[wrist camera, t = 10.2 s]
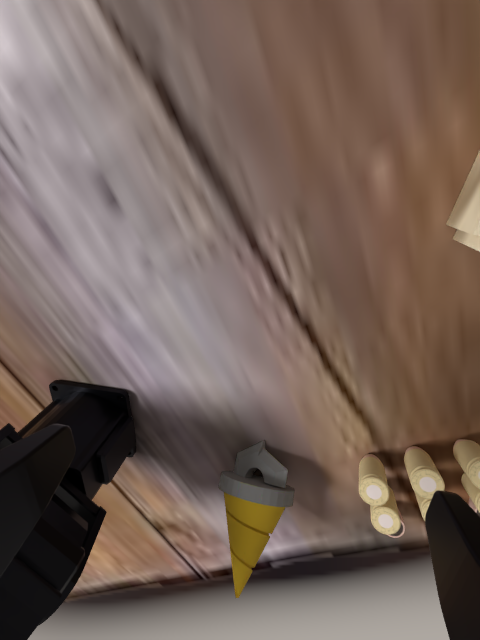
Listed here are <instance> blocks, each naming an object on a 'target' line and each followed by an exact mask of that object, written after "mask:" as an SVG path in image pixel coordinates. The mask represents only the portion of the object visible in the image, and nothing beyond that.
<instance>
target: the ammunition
mask: <svg viewBox="0 0 480 640" xmlns="http://www.w3.org/2000/svg"><path fill="white" fill-rule="evenodd" d="M453 454H454V457H455V458H456V460H457V461H458V463H459V464H460V466H461V467H462V469H463V470H464V472H465V473H464V474H463V475H462V478H461V482H462V485H463V487H464V488H465V490H466V492H467V493H468V495H469V496H470V498H469V506H470V507H471V508H472V509H473V510H474V511H475V512H476V513H477V514H478V515H479V516H480V445H479V444H477V443H476V442H474V441H471V440H466V439H459V440H457V441H456V442H455V444H454V447H453ZM404 463H405V466H406V469H407V473H408V476H409V479H410V482H411V485H412V488H413V490H414V492H415V495H416V498H417V501H418V504H419V507H420V511H421V513H422V517H423V519H424V520H425V516H426V512H427V510H428V507H429V504H430V502H431V499H432V497H433V494H434V493H435V492H436V491H437V490H440V491H444V489H445V484H444V481H443V479H442V477H441V475H440V473H439V472H438V470H437V468H436V466H435V464H434V463H433V461H432V459H431V457H430V456H429V454H428V453H426V452H425V451H424V450H423V449H421V448H419V447H416V446H411V447H409V448H408V449H407V450H406V452H405V456H404ZM359 494H360V496H361V498H362V499H363V500H364V501H365V502H366V503H368V504H369V505H370V511H371V522H372V524H373V526H374V528H375V529H376V530H377V531H379V532H380V533H383V534H386V535H388V536H390V537H393V538H398V537H401V536H402V535H403V534H404V531H405V527H404V522H403V518H402V515H401V513H400V511H399V510H398V508H397V504H396V500H395V496H394V492H393V490H392V489H391V488H390V487H389V486H388V484H387V479H386V474H385V469H384V466H383V464H382V462H381V461H380V460H379V458H378V457H376V456H375V455H373V454H367V455H365V456H364V457H363V458H362V460H361V462H360V464H359Z"/></svg>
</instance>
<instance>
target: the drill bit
mask: <svg viewBox="0 0 480 640" xmlns="http://www.w3.org/2000/svg"><path fill="white" fill-rule="evenodd" d="M257 469H259V470H260V471H261V472H262V474H263V477H260V476H256V475H253V473H254V471H255V470H257ZM287 473H288V470H287V469H286V468H285V467H284V466H283V465H282V464H281V463H279V462H278V461H277V460H276V459H275V458H274V457H273V456H272V455H271V454H270V453H269V452H267V451H266V449H265V440H263V441H261V442H259V443H257V444H255V445H253V446H251V447H249V448H247V449H245V450H243V451H241V452H238V453H237V457H236V462H235V467H234V472H232V471H223V472H222V473H221V477H220V482H219V489H220V490H222V491H223V492H224V498H225V506H226V516H227V525H228V533H229V542H230V551H231V560H232V569H233V578H234V585H235V595H236V598H239V596H240V594H241V592H242V590H243V588H244V586H245V584H246V582H247V581H248V579H249V577H250V575H251V573H252V570H251V568H254V567H255V565H256V563H257V561H258V559H259V557H260V555H261V554H262V552H263V550H264V548H265V546H266V544H267V542H268V540H269V538H270V536H269V533H271V534H272V532H273V530H274V528H275V527H276V525H277V523H278V521H279V519H280V517H281V515H282V513H283V511H284V509H285V507H291V506H292V505H293V498H294V491H295V490H294V489H293V488H292V487H290V486H288V485H286V479H287Z"/></svg>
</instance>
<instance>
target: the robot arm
mask: <svg viewBox="0 0 480 640" xmlns="http://www.w3.org/2000/svg"><path fill="white" fill-rule="evenodd" d="M49 388H50V392H51V396H52V400H53V402H52V403H51V404H49V405H48V406H47V407H46V408H45V409H44V410H43V411H42V412H41V413H39V414H38V415H37V416H36V417H35V418H34V419H33V420H32V421H30V422H29V423H28V424H27V425H26V426H25V427H24V428H23V429H21V430H20V431H19V432H18V433H17V432H16V431H15V430H14V429H15V428H14V427H13V426H12V425H11V424H9V423H8V424H7V425H6V426H4V427H3V428H2V429H1V430H0V640H27V639H28V638H29V636H30V635H31V634H32V632H33V631H34V630H35V629H36V627H37V626H38V625H40V624H42V623H43V622H44V621H45V620H47V619H48V618H49V617H50V616H51V615H52V614H53V613H54V612H55V611H56V610H57V609H58V607H59V606H60V605H61V604H62V603H63V601H64V600H65V599H66V597H67V596H68V595H69V593H70V592H71V590H72V589H73V587H74V586H75V584H76V583H77V581H78V579H79V577H80V576H81V573H82V571H83V569H84V567H85V564H86V562H87V559H88V557H89V555H90V552H91V550H92V547H93V545H94V542H95V540H96V537H97V535H98V532H99V530H100V527H101V525H102V522H103V520H104V517H105V515H106V511H105V510H104V509H103V508H102V507H101V506H100V507H99V506H97V505H96V504H95V503H94V502H93V501H92V499H93V498H94V496H95V495H96V493H97V492H98V490H99V489H100V487H101V486H102V484H108V483H110V482H111V480H112V479H113V477H114V476H115V474H116V472H117V471H118V469H119V468H120V466H121V465H122V463H123V462H124V460H125V458H126V457H133V455H134V454H135V452H136V446H135V443H136V438H135V431H134V423H133V418H132V416H131V409H130V402H129V395H128V393H127V392H126V391H124V390H120V389H113V388H106V387H100V386H93V385H86V384H80V383H73V382H66V381H59V380H55V381H53V382H52V383H51V384H50V385H49ZM121 396H122V397H123V398H122V397H121ZM425 525H426V531H427V536H428V542H429V547H430V553H431V557H432V563H433V569H434V574H435V580H436V585H437V591H438V595H439V600H440V605H441V609H442V613H443V617H444V620H445V624H446V627H447V631H448V634H449V638H450V640H480V516H479V515H478V514H477V513H476V512H475V511H474V510H473V509H472V508H471V507H470V506H469V505H468V504H467V503H466V502H465V501H464V500H463V499H462V498H461V497H460V496H459V495H457V494H456V493H452V492H446V491H440V490H437V491H436V492H435V493H434V494H433V497H432V499H431V502H430V504H429V507H428V510H427V512H426V516H425Z"/></svg>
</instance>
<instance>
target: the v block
mask: <svg viewBox="0 0 480 640" xmlns="http://www.w3.org/2000/svg"><path fill="white" fill-rule="evenodd" d="M446 225H448V226H451V227H453V228H456V229H457V231H456V233H455V235H454V237H453V239H454V240H456V241H458V242H460V243H462V244H464V245H466V246H469V247H471V248H473V249H475V250H477V251H479V252H480V151H479V153H478V155H477V157H476V160H475V162H474V164H473V166H472V169H471V171H470V173H469V175H468V177H467V180H466V182H465V184H464V186H463V188H462V191H461V193H460V195H459V197H458V199H457V202H456V204H455V206H454V208H453V210H452V213H451V215H450V217H449V219H448V222H447V224H446Z"/></svg>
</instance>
